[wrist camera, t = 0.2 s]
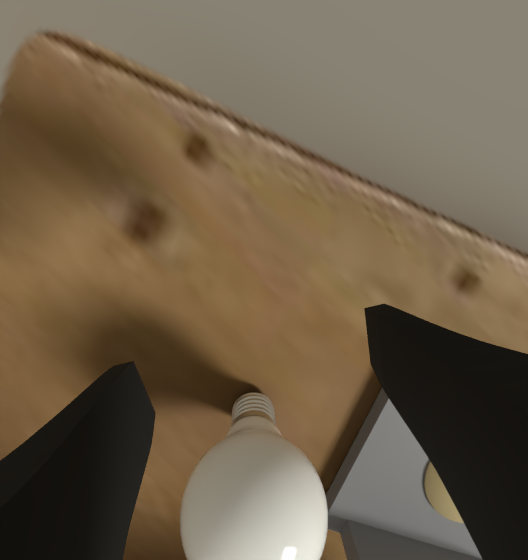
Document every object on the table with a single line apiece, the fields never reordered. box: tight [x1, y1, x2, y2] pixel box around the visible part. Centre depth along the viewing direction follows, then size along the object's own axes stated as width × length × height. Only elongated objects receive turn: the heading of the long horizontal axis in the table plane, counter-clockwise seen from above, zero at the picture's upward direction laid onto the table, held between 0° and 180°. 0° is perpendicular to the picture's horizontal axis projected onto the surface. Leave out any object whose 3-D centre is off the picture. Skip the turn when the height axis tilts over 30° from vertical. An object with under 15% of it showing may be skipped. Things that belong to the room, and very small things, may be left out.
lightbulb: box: [180, 392, 328, 560], centre depth 17 cm, size 6×6×11 cm
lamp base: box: [326, 388, 483, 560], centre depth 22 cm, size 13×15×6 cm
